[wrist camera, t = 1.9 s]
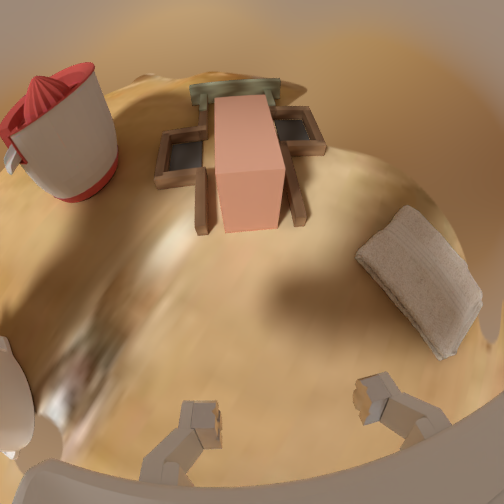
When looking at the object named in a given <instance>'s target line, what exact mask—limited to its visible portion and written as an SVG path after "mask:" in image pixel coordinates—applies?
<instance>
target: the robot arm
mask: <svg viewBox="0 0 504 504" xmlns="http://www.w3.org/2000/svg"><path fill="white" fill-rule="evenodd" d="M355 386H356V389H355V390H354V392H353V403H354V406H355V408H356V409H357V410H359V411H360V413H359V417H360V419H361V421H362V424H363V426H364V425H367V424H371V423H374V422H377V421H379V422H381V423H382V424H384V425H385V426H386V427H388V428H389V429H391V430H392V431H394V432H395V433H397V434H398V435H400V436H402V437H403V438H405V441H404V442H403V444H402V446H401V447H400V451H398V452H396V453H393V454H391V455H388V456H385V457H383V458H380V459H377V460H374V461H371V462H368V463H365V464H362V465H359V466H356V467H353V468H349V469H346V470H342V471H338V472H334V473H330V474H326V475H322V476H317V477H312V478H307V479H302V480H296V481H290V482H283V483H275V484H267V485H256V486H242V487H194V484H193V483H192V482H191V480H190V479H189V478H188V476H187V475H186V473H187V472H188V470H189V469H190V468H191V466H192V465H193V464H194V462H195V461H196V460H197V458H198V457H199V456H200V454H201V453H202V452H203V449H222V435H221V430H222V417H221V412H220V411H219V410H218V407H219V405H218V402H217V401H216V400H215V401H183V403H182V406H181V413H180V419H179V426H178V428H175V429H174V430H173V431H172V432H171V433H170V434H169V435H168V436H167V437H166V438H165V439H164V440H163V441H162V442H160V443H159V444H158V445H157V446H156V447H155V448H154V449H153V450H152V451H151V452H150V453H149V454H148V455H147V456H146V457H144V458H143V463H142V468H141V473H140V477H139V481H136V480H130V479H125V478H120V477H116V476H111V475H107V474H103V473H99V472H95V471H92V470H88V469H85V468H81V467H78V466H75V465H72V464H69V463H66V462H63V461H61V460H58V459H54V458H49V459H46V460H44V461H42V462H41V463H38V464H37V465H35V466H33V467H32V468H30V469H29V470H28V471H27V472H26V473H25V475H24V476H23V478H22V480H21V482H20V484H19V487H18V489H17V491H16V494H15V497H14V499H13V502H12V504H504V391H503V392H501V393H500V394H499V395H497V396H496V397H495V398H493V399H492V400H491V401H489V402H488V403H486V404H485V405H483V406H482V407H481V408H479V409H478V410H476V411H475V412H473V413H471V414H470V415H468V416H467V417H465V418H463V419H462V420H460V421H459V422H457V423H455V424H453V425H452V424H451V423H450V421H449V420H448V419H447V417H446V416H445V414H444V413H443V411H442V410H441V409H440V408H438V407H436V406H433V405H431V404H429V403H426V402H424V401H422V400H420V399H417V398H415V397H413V396H411V395H409V394H406V393H401V392H400V390H399V389H398V387H397V386H396V384H395V383H394V381H393V380H392V378H391V377H390V375H389V374H388V372H382V373H379V374H375V375H371V376H368V377H364V378H361V379H357V381H356V383H355ZM34 420H35V417H34V406H33V400H32V396H31V392H30V388H29V385H28V382H27V379H26V377H25V375H24V373H23V371H22V369H21V367H20V365H19V364H18V362H17V361H16V359H15V358H14V356H13V354H12V351H11V348H10V344H9V341H8V339H7V338H6V337H4V336H0V452H3V453H4V454H5V455H6V456H7V457H8V458H10V459H14V460H16V459H17V458H18V456H19V453H20V450H21V449H22V448H24V447H25V446H27V445H28V444H29V442H30V441H31V438H32V436H33V432H34V423H35V421H34Z"/></svg>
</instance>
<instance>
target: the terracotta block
mask: <svg viewBox="0 0 504 504" xmlns="http://www.w3.org/2000/svg"><path fill="white" fill-rule="evenodd" d="M215 175H216V181H217V187H218V193H219V199H220V205H221V211H222V217H223V223H224V228H225V233H233V232H244V231H255V230H266V229H277V227H278V220H279V213H280V206H281V199H282V191H283V184H284V177H285V165H284V161H283V157H282V153H281V150H280V146H279V142H278V138H277V135H276V131H275V127H274V124H273V120H272V117H271V113H270V110H269V106H268V103H267V99H266V96H265V95H244V96H230V97H219V98H215Z"/></svg>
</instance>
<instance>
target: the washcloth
mask: <svg viewBox="0 0 504 504" xmlns="http://www.w3.org/2000/svg"><path fill="white" fill-rule="evenodd" d="M355 255H356V257H355V259H356V260H357V261H358V262H359V263H360V264H361V265H362V266H363V267H364V269H365V270H366V271H367V273H369V274H370V275H371V276H372V278H373V279H374V280H375V281H376V282H377V283H378V284H379V286H381V287H382V288H383V291H385V292H386V294H387V295H388V296H389V298H390V299H391V300H393V302H394V303H395V306H397V308H399V309H400V311H402V312H403V314H404V315H405V316H406V317H408V319H409V321H410V322H411V323H412V325H413V326H414V327H415V328H416V329H417V331H418V332H419V333H420V335H421V337H422V338H423V340H424V341H425V342H426V344H427V345H428V346H429V348H430V349H431V350H432V352H433V353H434V355H435V357H436V358H437V359H438V360H439V361H441V360H443V359H446V358H448V357H449V356H453V355H455V354H456V353H457V349H458V347H459V345H460V343H461V341H462V340H463V338H464V337H465V335H466V334H467V332H468V330H469V329H470V327H471V325H472V324H473V322H474V320H475V319H476V317H477V315H478V313H479V311H480V309H481V307H482V306H483V303H482V301H481V299H482V291H481V289H480V288H479V286H478V285H477V283H476V282H475V280H474V279H473V277H472V276H471V274H470V272H469V270H468V265H467V263H466V262H465V261H464V260H463V259H462V258H461V257H460V256H459V255H458V254H457V253H456V251H454V249H453V248H452V247H451V246H450V244H449V243H448V242H447V241H446V239H445V238H444V237H443V236H442V235H441V234H440V233H439V232H438V231H437V230H436V229H435V228H434V227H433V226H432V225H431V224H430V223H429V222H428V221H427V219H426V218H425V217H424V216H423V215H422V214H421V213H420V212H419V211H418V210H416V209H415V208H413V207H411V206H409V205H405V206H403V207H402V208H401V209H400V210H399V211H398V213H396V215H395V216H394V217H393V219H392V220H391V221H390V224H388V225H387V226H386V227H385V228H384V229H383V230H380V231H378V232H377V233H376V234H375V235H373V237H372V238H370V239H369V240H368V241H367V242H366V244H365V245H363V246H362V247H361V248H359V249H358V251H357V252H356V254H355Z"/></svg>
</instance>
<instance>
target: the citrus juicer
mask: <svg viewBox="0 0 504 504" xmlns="http://www.w3.org/2000/svg"><path fill="white" fill-rule="evenodd" d="M94 69H95V66H94V64H93V63H91V62H85V63H80V64H77V65H73V66H71V67H68V68H66V69H64V70H62V71H60V72H58V73H56V74H54V75H52V76H51V77H45V76H35V77H34V78H33V79H32V80H31V82H30V85H29V87H28V91H27V94H26V95H25V96H24V97H23V98H22V99H20V100H19V101H18V102H17V103H16V104H15V106H14V107H13V108H12V109H11V110H10V111H9V112H8V114H7V115H6V116H5V118H4V119H3V120H2V122H1V124H0V137H1V138H2V140H3V141H4V143H5V144H6V146H7V147H8V151H7V153H6V155H5V158H4V164H5V167H6V170H7V172H8V173H9V174H11V175H12V174H13V172H14V171H15V169H16V167H17V166H18V164H20V165H21V166H22V167H23V169H24V170H25V171H26V173H27V174H28V175H29V176H30V177H31V178H32V180H33V181H34V182H35V183H36V184H37V185H38V186H40V187H41V188H42V189H43V190H45V191H46V192H48V193H49V194H51V195H53V196H54V197H55V198H58V199H60V200H62V201H65V202H69V203H75V202H80V201H83V200H85V199H87V198H89V197H91V196H92V195H94V194H96V193H97V192H98V191H99V190H101V189H102V188H103V187H104V186H105V185H106V184H107V183H108V181H109V180H110V179H111V178H112V176H113V174H114V173H115V170H116V168H117V164H118V145H117V137H116V131H115V126H114V122H113V119H112V116H111V113H110V111H109V109H108V106H107V104H106V101H105V98H104V96H103V93H102V91H101V88H100V85H99V83H98V80H97V77H96V75H95V72H94Z"/></svg>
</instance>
